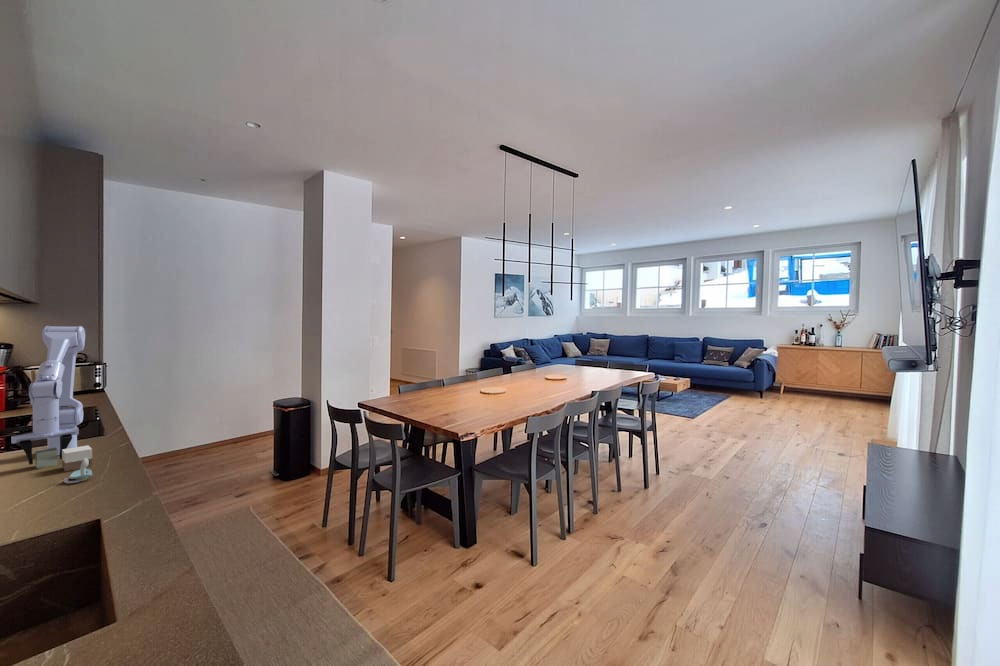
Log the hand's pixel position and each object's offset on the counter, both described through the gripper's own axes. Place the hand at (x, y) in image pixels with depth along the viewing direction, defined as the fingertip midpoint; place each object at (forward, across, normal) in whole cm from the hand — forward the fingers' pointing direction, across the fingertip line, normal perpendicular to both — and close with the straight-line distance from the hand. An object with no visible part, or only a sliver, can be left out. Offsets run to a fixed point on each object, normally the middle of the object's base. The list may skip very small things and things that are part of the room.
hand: (46, 461), depth 135 cm
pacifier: (+2, +4, -24) cm, 24 cm away
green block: (+2, 0, 0) cm, 2 cm away
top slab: (-1, +6, -9) cm, 11 cm away
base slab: (+2, +6, -9) cm, 11 cm away
